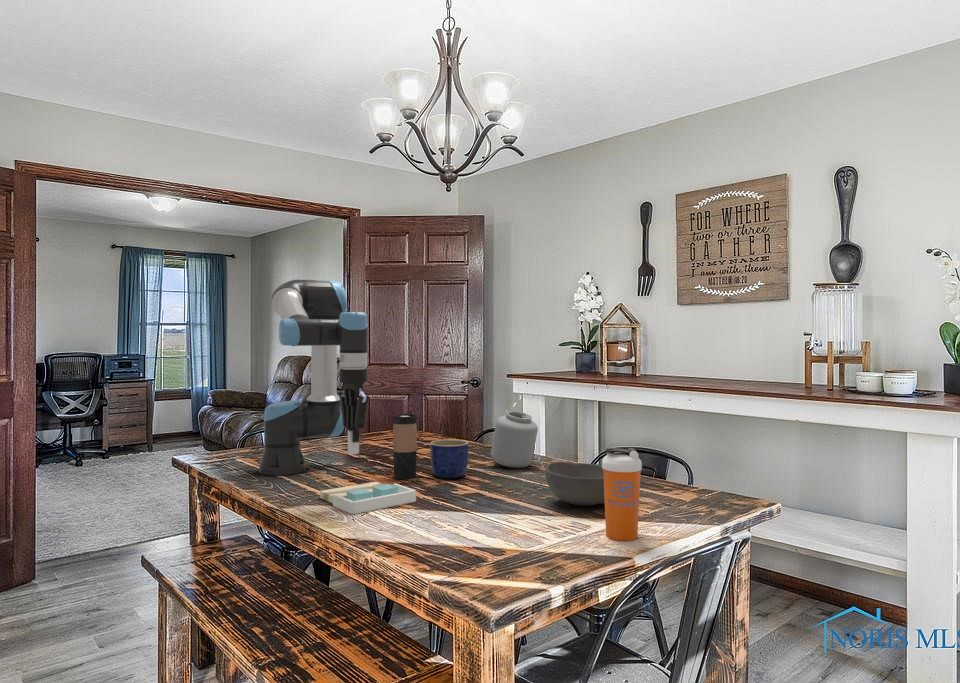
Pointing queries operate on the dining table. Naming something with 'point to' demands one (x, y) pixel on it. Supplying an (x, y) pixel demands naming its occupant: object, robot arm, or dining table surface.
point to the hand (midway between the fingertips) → (353, 453)
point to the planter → (449, 458)
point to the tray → (376, 501)
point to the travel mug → (405, 446)
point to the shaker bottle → (621, 493)
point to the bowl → (576, 482)
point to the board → (342, 491)
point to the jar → (514, 440)
